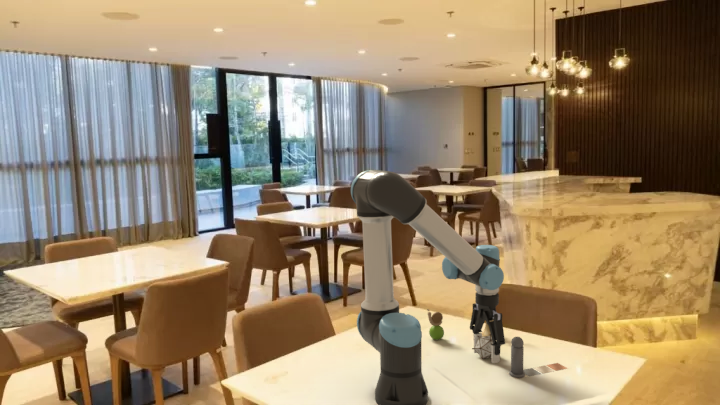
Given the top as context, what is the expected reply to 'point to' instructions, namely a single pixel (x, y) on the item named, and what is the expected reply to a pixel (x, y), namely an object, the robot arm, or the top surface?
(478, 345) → the game die
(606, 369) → the top surface
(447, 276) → the robot arm
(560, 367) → the track
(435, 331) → the snail figurine
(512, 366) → the pawn
